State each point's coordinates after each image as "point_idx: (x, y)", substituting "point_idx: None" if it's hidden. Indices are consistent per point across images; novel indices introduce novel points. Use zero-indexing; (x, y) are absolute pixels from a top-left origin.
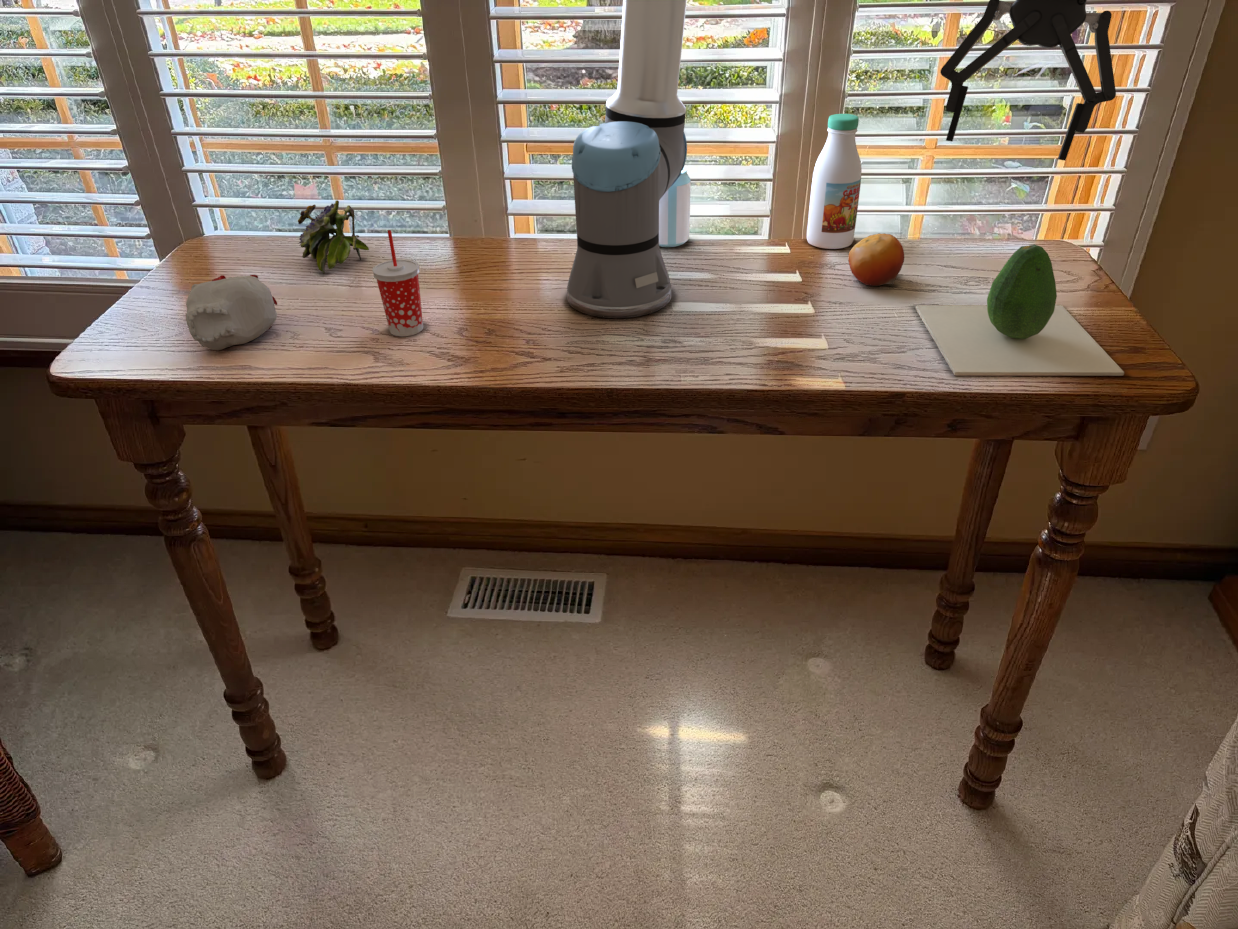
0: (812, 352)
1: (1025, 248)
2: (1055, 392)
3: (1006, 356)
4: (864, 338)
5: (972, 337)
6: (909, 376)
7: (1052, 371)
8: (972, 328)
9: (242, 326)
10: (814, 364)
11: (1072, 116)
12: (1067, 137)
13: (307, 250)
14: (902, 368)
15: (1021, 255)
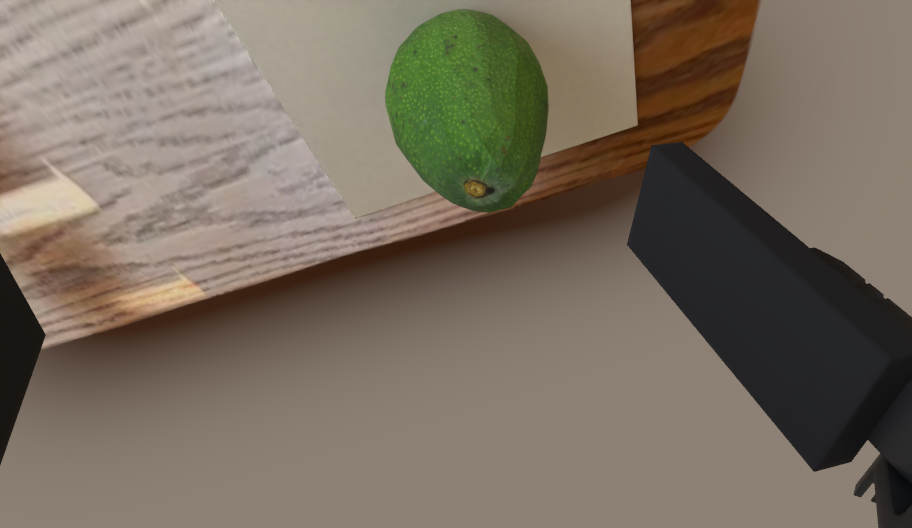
0: (83, 228)
1: (471, 193)
2: None
3: None
4: (141, 146)
5: (365, 85)
6: (284, 237)
7: None
8: (358, 39)
9: None
10: (116, 258)
11: (795, 323)
12: (689, 312)
13: None
14: (264, 221)
15: (460, 204)
